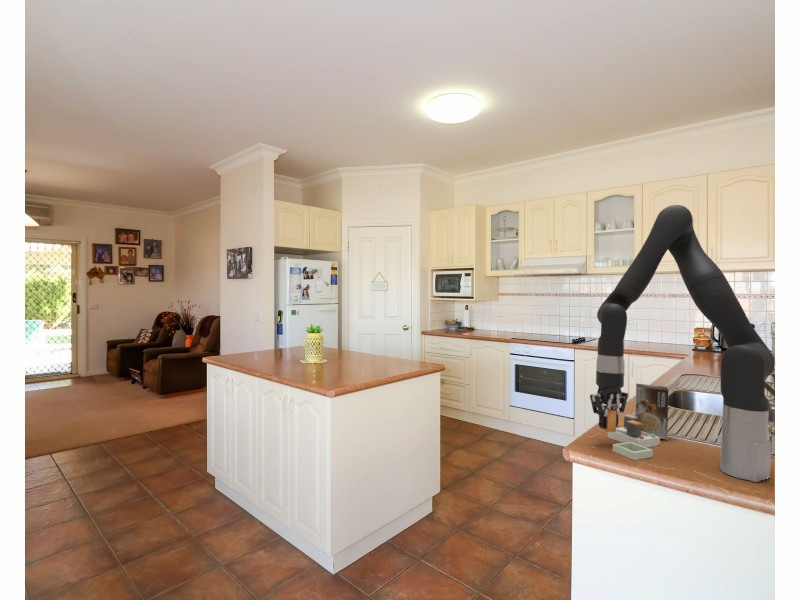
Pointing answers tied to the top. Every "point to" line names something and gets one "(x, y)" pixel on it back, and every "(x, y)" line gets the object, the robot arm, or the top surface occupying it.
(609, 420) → the cap
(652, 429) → the coffee box
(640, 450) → the pale green square frame
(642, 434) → the box
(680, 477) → the top surface
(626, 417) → the block
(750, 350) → the robot arm
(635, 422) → the tagged breaker
